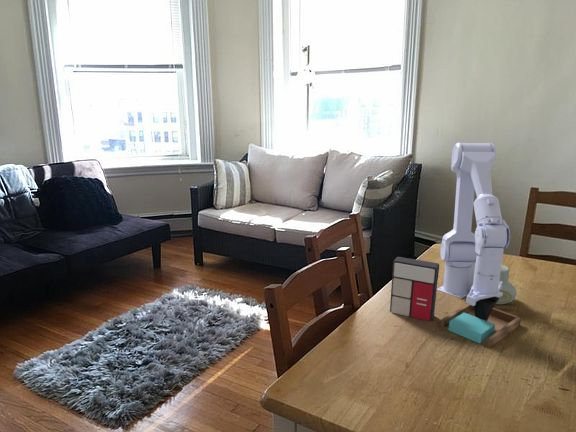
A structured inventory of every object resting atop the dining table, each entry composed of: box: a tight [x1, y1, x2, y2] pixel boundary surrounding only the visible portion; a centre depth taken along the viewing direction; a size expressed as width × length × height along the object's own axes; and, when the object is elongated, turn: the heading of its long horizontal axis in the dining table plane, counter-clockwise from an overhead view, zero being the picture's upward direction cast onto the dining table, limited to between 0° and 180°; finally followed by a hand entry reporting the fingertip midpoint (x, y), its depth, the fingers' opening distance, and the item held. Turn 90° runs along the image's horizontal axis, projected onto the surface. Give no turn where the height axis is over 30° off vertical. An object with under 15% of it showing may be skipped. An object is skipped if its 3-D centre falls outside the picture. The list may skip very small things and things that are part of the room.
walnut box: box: [440, 303, 522, 348], centre depth 111 cm, size 16×13×2 cm
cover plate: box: [448, 313, 495, 345], centre depth 108 cm, size 7×8×2 cm
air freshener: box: [495, 264, 518, 305], centre depth 125 cm, size 11×8×10 cm
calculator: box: [389, 256, 440, 322], centre depth 116 cm, size 11×4×15 cm, turn 62°
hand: (480, 322), depth 111 cm, fingers closed
